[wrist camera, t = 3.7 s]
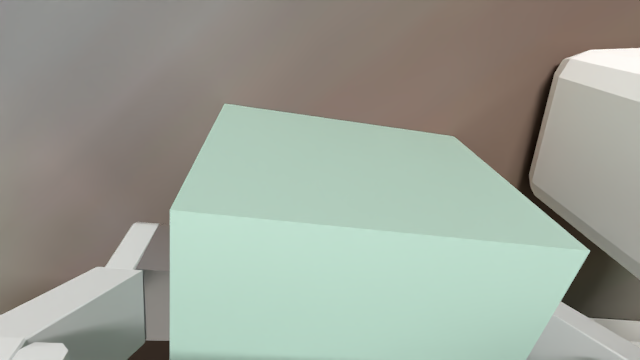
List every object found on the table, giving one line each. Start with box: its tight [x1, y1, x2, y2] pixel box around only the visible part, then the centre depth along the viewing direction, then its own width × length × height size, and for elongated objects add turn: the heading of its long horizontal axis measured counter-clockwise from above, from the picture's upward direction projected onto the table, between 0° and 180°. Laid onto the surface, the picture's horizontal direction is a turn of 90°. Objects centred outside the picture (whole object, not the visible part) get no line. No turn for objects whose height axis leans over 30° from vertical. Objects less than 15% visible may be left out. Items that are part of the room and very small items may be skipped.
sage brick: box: [170, 104, 590, 360], centre depth 9 cm, size 6×6×5 cm
